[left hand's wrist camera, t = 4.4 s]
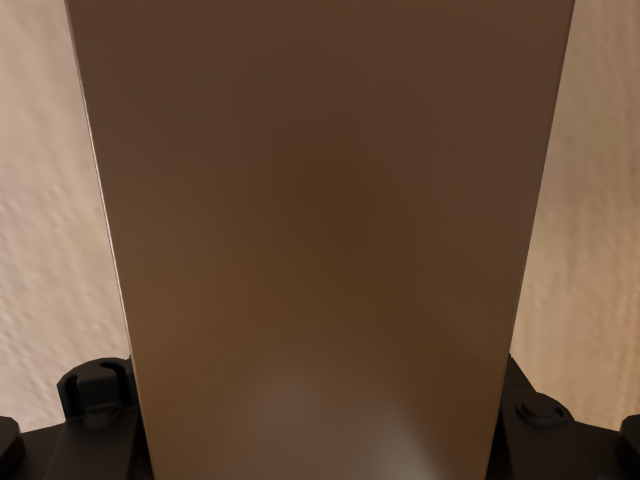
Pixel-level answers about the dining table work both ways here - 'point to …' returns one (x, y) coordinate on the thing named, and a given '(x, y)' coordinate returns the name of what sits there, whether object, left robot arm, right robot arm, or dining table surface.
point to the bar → (319, 222)
